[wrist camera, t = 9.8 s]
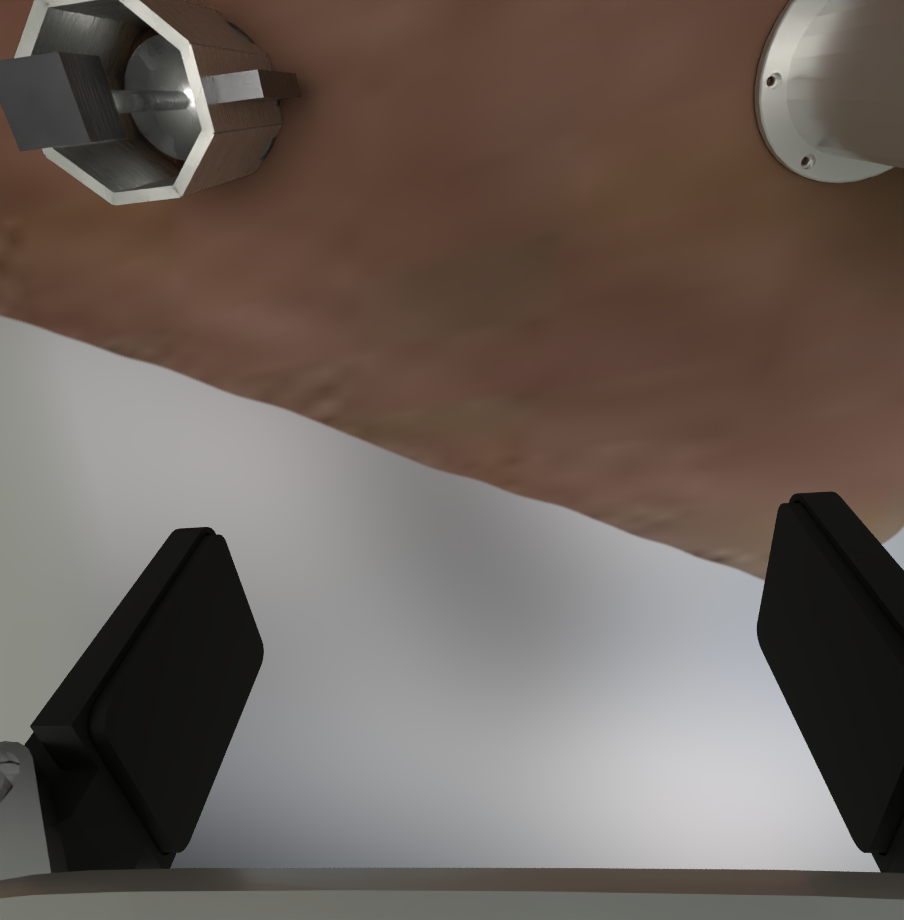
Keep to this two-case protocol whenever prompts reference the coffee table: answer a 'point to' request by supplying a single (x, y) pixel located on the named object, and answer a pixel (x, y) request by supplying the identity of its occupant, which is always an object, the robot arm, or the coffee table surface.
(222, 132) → the press carafe
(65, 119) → the plunger
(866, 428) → the coffee table surface
